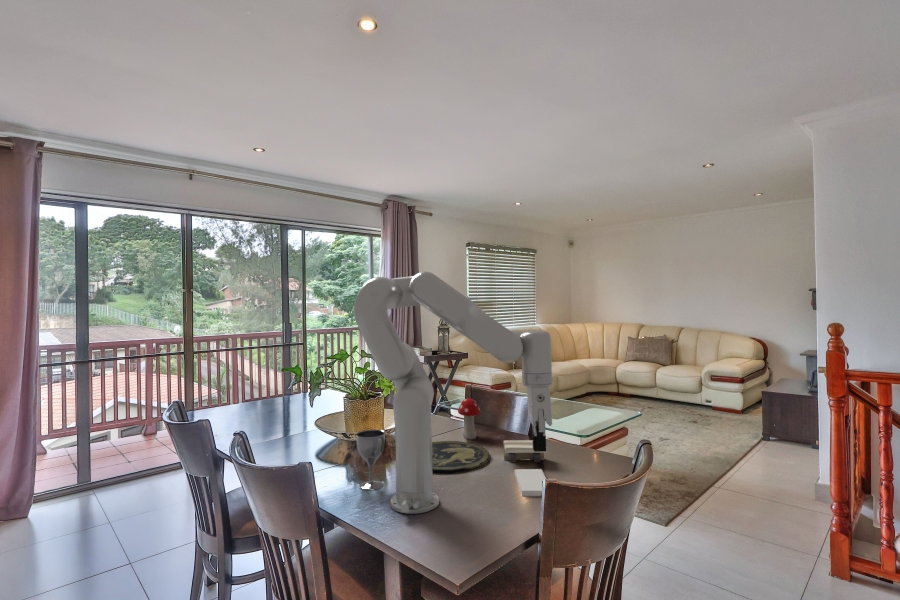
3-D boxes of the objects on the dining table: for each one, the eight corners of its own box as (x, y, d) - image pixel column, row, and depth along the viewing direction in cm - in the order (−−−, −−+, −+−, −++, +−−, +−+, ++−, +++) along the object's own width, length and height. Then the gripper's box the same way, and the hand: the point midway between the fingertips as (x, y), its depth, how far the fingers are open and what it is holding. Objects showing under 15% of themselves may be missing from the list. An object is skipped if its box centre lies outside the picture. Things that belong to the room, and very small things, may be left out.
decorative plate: (388, 466, 144) (414, 438, 174) (388, 472, 144) (414, 443, 174) (484, 472, 138) (494, 442, 168) (484, 478, 138) (494, 447, 168)
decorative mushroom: (455, 434, 183) (454, 396, 183) (475, 432, 186) (474, 395, 186) (463, 441, 174) (462, 401, 174) (484, 439, 176) (484, 400, 176)
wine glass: (391, 484, 133) (390, 432, 133) (369, 493, 127) (368, 438, 127) (373, 478, 139) (372, 428, 139) (351, 486, 133) (350, 433, 133)
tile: (552, 497, 124) (551, 490, 124) (522, 498, 124) (521, 490, 124) (541, 475, 140) (541, 469, 140) (514, 476, 140) (514, 469, 140)
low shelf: (547, 467, 146) (546, 447, 146) (505, 467, 146) (505, 447, 146) (543, 458, 154) (542, 440, 154) (503, 458, 154) (503, 440, 154)
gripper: (557, 383, 112) (559, 460, 111) (547, 374, 126) (549, 441, 126) (525, 384, 112) (528, 460, 112) (519, 374, 127) (521, 442, 127)
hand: (539, 450), depth 119 cm, fingers closed
